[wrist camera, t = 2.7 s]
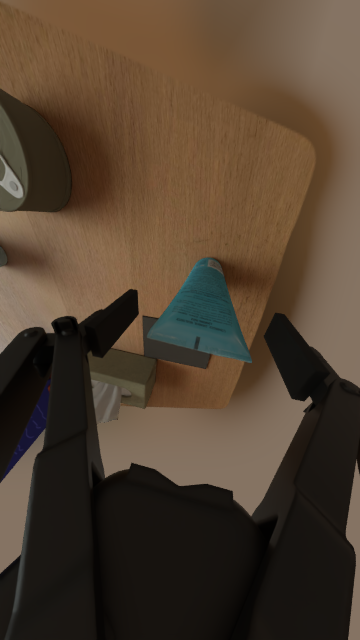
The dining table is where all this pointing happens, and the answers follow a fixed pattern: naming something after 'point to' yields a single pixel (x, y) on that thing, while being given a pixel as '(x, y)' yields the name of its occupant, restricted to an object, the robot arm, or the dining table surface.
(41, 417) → the cereal box
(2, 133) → the can
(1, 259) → the cup
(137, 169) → the dining table surface
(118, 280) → the dining table surface
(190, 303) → the tube
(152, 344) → the thin charcoal rectangular slate
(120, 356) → the tissue box
